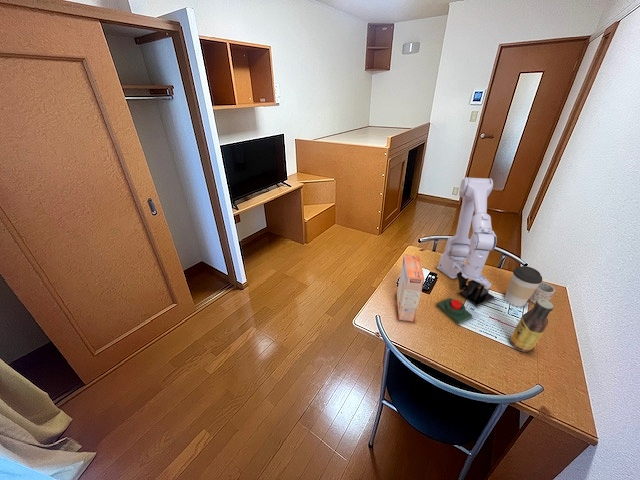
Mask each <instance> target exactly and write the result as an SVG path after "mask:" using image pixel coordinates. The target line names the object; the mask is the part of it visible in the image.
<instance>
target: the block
mask: <svg viewBox="0 0 640 480" xmlns="http://www.w3.org/2000/svg"><path fill="white" fill-rule="evenodd" d="M452 300H454V299H453V298H452V297H450V298H447V299H445V300H442V301H440V302H439V303H437V304H436V307H437V308H438V309H439V311H441V312H442V313H443V314H444V315H446V316H447V317H448V318H449V319H451V321H453V322H454V323H455V324H456V325H460V324H462V323H464V322H467V321H468V320H470V319H472V318H473V314H472V313H470V311H468V310H467V309H466V306H465V304H464V303H462V306H461V309H460V310H455V309H453V308H452V307H451V306H450V304H451V301H452Z"/></svg>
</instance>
